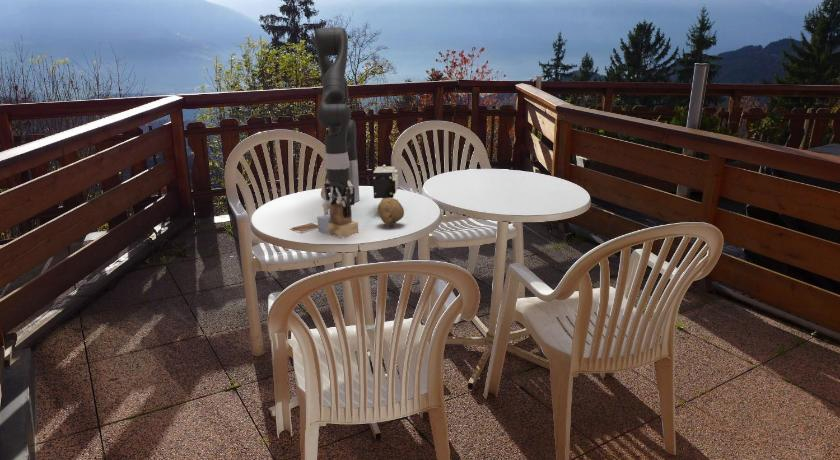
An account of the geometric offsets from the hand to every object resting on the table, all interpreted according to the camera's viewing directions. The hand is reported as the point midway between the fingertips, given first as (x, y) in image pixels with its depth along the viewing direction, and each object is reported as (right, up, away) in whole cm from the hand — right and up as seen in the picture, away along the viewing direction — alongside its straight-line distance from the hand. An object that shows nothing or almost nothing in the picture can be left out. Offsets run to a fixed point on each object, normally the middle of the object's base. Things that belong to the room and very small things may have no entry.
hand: (341, 215), depth 192 cm
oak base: (+1, -6, +1) cm, 7 cm away
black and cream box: (+14, +2, +29) cm, 33 cm away
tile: (-13, -4, +8) cm, 16 cm away
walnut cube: (0, -2, +1) cm, 2 cm away
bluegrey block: (-7, -2, +6) cm, 10 cm away
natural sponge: (+17, -4, +9) cm, 19 cm away
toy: (-5, +1, +25) cm, 25 cm away
